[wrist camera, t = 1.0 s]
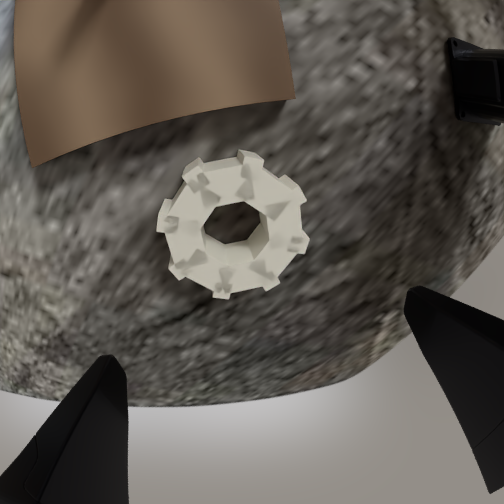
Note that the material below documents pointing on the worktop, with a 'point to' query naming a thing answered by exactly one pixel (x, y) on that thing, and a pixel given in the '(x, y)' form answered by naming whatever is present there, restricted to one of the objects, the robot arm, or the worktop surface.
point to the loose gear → (238, 253)
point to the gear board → (140, 65)
